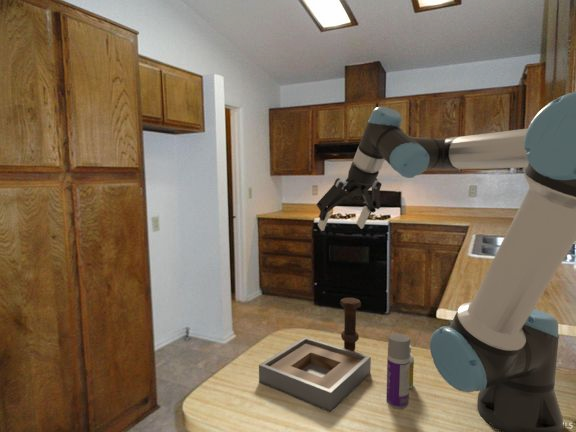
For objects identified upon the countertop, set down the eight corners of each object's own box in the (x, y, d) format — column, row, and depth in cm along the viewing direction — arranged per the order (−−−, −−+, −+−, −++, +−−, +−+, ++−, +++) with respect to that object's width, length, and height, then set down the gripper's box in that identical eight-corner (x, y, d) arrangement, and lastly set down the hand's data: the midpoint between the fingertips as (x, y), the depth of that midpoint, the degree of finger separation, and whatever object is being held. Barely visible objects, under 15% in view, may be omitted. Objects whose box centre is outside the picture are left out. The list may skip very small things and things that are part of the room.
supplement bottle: (414, 391, 89) (415, 351, 88) (390, 388, 90) (391, 349, 89) (411, 379, 94) (412, 341, 93) (389, 376, 95) (390, 339, 94)
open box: (370, 373, 96) (370, 356, 96) (330, 412, 81) (330, 392, 80) (305, 352, 108) (305, 336, 108) (259, 382, 92) (258, 364, 92)
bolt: (337, 353, 107) (338, 302, 106) (341, 346, 112) (341, 296, 111) (358, 356, 106) (359, 304, 104) (361, 348, 110) (362, 298, 109)
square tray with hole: (364, 371, 96) (364, 360, 96) (328, 405, 82) (328, 392, 82) (306, 352, 107) (306, 342, 106) (266, 379, 93) (265, 367, 92)
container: (381, 399, 85) (383, 335, 84) (397, 394, 87) (399, 331, 86) (396, 411, 81) (398, 343, 79) (412, 405, 83) (415, 339, 82)
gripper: (395, 159, 108) (368, 217, 121) (319, 156, 98) (298, 220, 110) (410, 174, 103) (380, 232, 116) (331, 172, 93) (308, 237, 105)
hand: (340, 226), depth 113 cm, fingers open, 13 cm apart
